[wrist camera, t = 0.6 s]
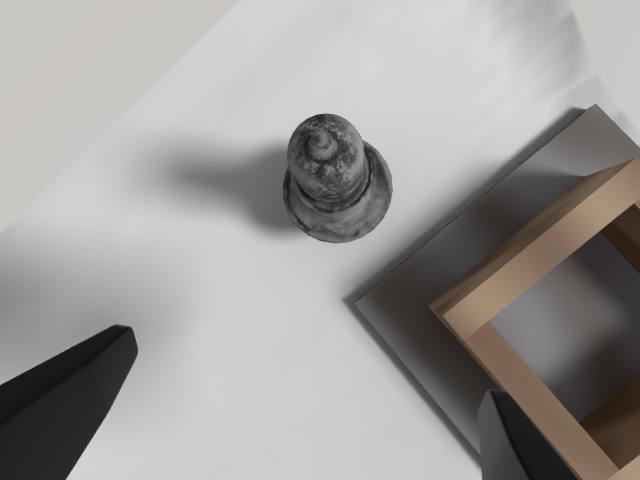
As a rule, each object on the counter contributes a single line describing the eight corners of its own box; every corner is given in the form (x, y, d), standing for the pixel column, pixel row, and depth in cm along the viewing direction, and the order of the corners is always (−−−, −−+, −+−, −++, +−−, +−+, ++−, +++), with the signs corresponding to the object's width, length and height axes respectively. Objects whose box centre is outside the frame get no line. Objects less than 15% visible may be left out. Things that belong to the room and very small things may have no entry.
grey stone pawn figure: (291, 243, 24) (221, 227, 12) (297, 151, 24) (234, 45, 12) (385, 248, 23) (412, 236, 11) (390, 153, 23) (420, 43, 11)
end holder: (548, 535, 21) (603, 616, 16) (354, 302, 23) (352, 313, 18) (811, 335, 20) (949, 359, 15) (587, 109, 22) (649, 68, 17)
